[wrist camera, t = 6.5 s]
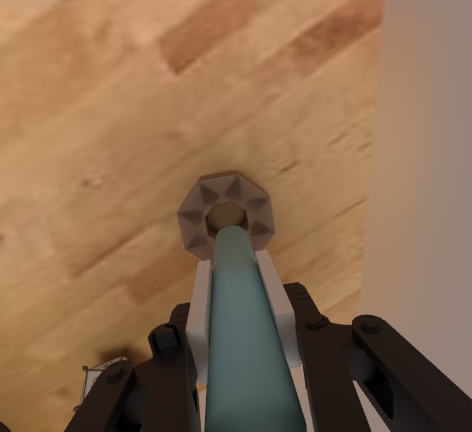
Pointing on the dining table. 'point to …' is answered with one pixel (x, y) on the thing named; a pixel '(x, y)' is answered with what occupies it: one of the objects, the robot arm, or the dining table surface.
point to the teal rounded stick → (246, 348)
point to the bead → (220, 191)
